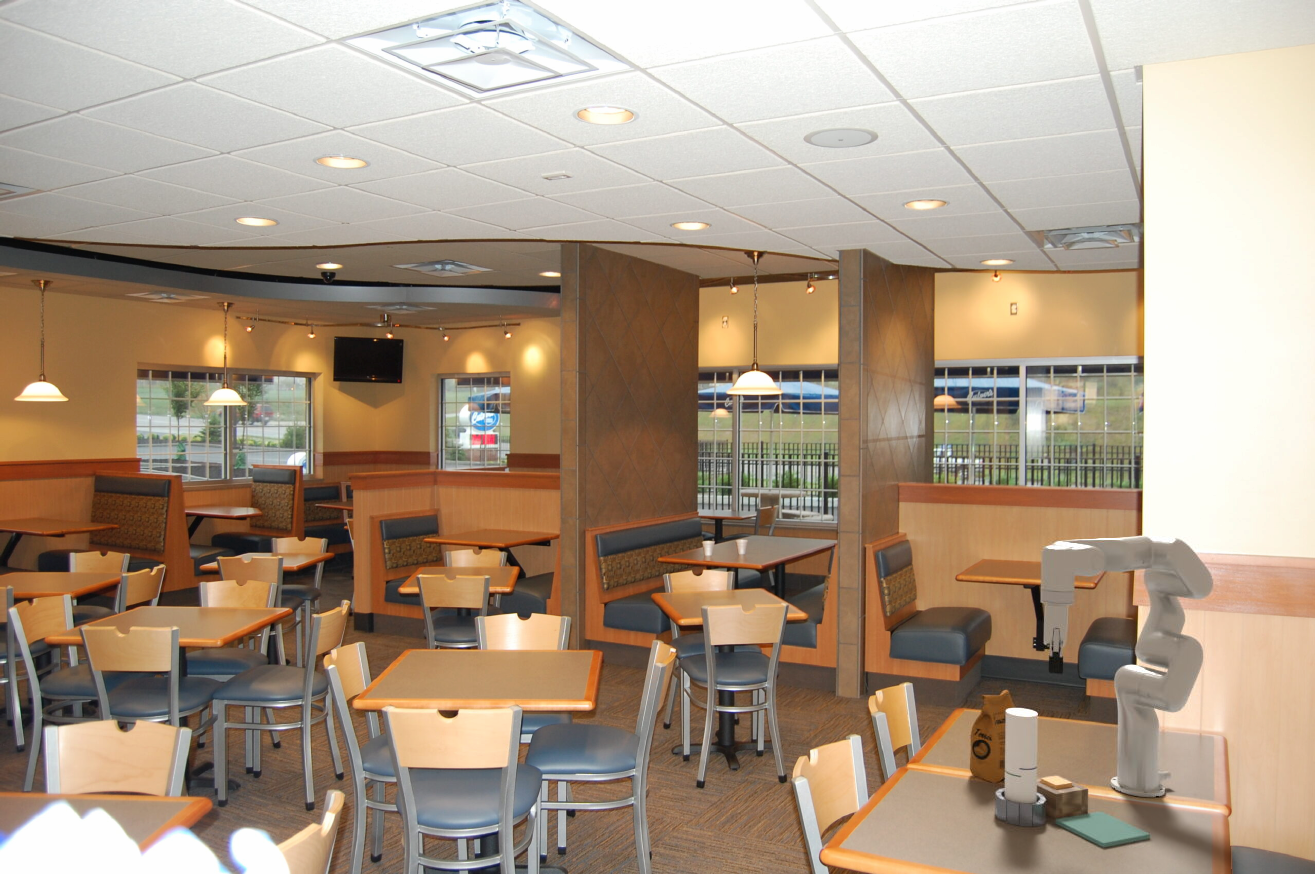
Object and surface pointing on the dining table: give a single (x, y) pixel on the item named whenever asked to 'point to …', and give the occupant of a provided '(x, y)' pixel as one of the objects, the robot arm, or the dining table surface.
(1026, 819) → the collar
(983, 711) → the coffee package
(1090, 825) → the mat
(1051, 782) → the tan block
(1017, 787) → the cylindrical container
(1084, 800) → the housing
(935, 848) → the dining table surface
